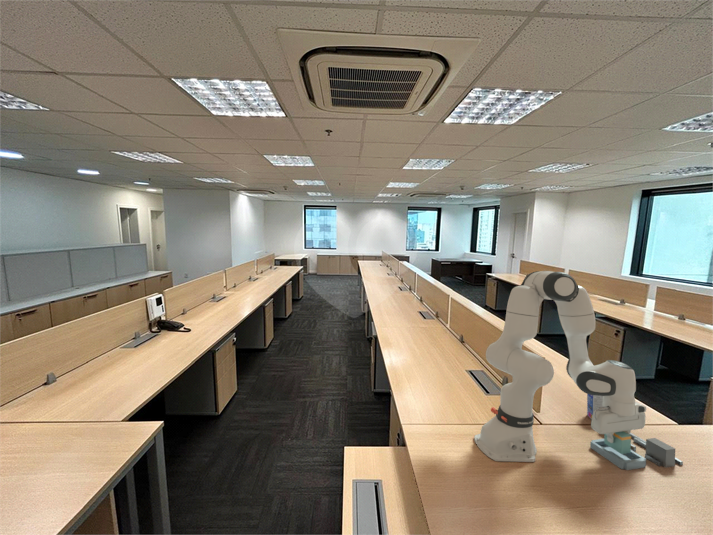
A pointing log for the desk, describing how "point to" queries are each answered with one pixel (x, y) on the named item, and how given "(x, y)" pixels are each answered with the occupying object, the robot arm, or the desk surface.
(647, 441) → the block
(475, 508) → the desk surface
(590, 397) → the ink cartridge box
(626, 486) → the desk surface
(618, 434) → the block
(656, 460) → the clip rail
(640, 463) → the tray
